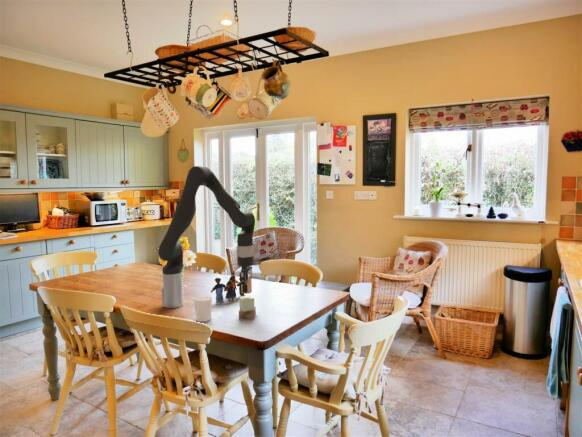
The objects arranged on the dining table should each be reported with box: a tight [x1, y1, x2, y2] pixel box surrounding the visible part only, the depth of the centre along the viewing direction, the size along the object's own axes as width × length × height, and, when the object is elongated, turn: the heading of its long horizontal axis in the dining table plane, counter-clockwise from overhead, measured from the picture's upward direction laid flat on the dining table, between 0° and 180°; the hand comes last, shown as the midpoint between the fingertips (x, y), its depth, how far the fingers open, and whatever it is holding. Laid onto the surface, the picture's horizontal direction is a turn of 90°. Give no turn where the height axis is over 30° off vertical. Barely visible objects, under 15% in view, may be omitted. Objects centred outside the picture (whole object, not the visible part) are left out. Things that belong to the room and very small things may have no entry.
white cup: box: [193, 295, 213, 323], centre depth 192 cm, size 8×8×10 cm
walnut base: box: [238, 306, 257, 320], centre depth 195 cm, size 7×7×4 cm
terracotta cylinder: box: [241, 278, 253, 295], centre depth 194 cm, size 5×5×6 cm
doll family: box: [210, 275, 246, 305], centre depth 221 cm, size 23×9×13 cm, turn 152°
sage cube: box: [238, 295, 255, 312], centre depth 194 cm, size 6×6×6 cm
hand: (246, 290), depth 194 cm, fingers closed on terracotta cylinder, 4 cm apart
